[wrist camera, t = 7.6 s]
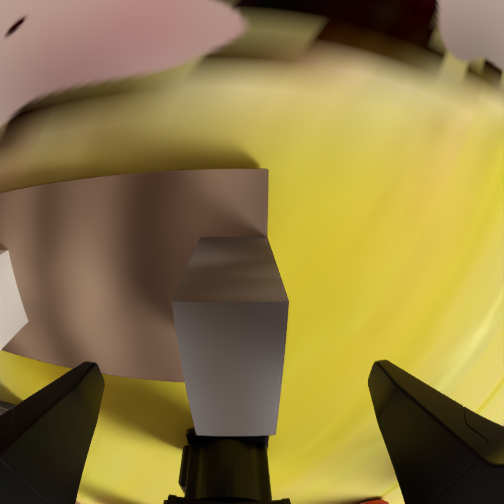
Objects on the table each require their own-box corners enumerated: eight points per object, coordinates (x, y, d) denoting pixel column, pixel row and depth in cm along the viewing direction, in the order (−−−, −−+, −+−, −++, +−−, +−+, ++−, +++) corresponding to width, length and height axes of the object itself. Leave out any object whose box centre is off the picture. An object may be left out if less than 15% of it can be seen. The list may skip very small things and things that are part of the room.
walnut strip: (266, 168, 13) (295, 181, 6) (260, 372, 17) (270, 467, 10) (-47, 204, 12) (-107, 229, 5) (-11, 337, 16) (-52, 382, 9)
